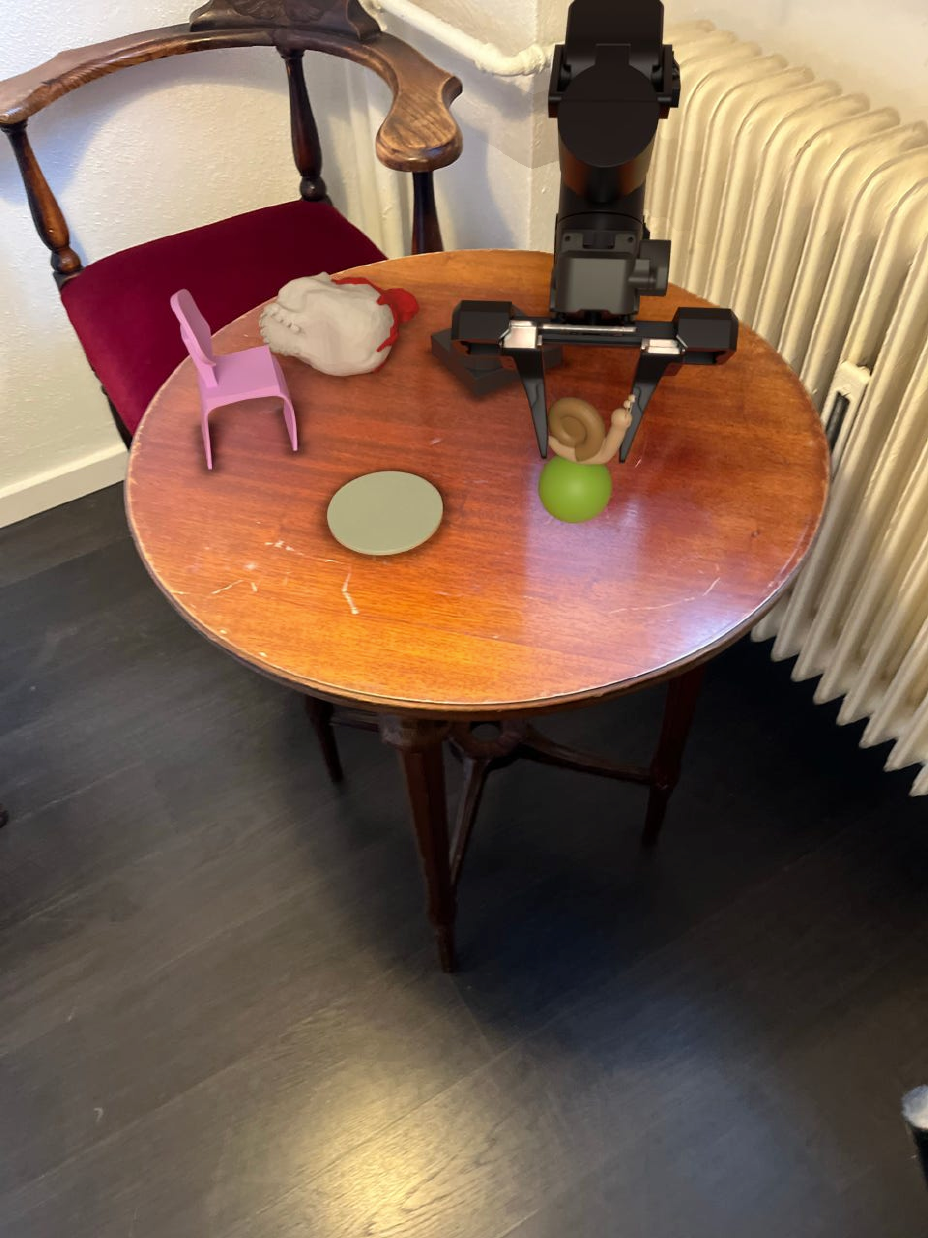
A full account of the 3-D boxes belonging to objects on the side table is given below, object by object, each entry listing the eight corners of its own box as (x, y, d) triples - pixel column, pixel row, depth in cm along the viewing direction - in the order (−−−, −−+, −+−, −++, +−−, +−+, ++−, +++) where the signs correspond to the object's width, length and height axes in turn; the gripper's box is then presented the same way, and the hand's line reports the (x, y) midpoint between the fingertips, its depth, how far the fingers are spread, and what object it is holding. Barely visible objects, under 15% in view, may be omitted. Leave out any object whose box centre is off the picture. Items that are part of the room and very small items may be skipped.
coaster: (408, 460, 81) (408, 456, 81) (464, 525, 76) (464, 521, 75) (309, 502, 78) (308, 497, 78) (359, 572, 73) (358, 568, 72)
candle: (260, 366, 91) (373, 321, 98) (330, 412, 85) (443, 361, 93) (249, 280, 84) (370, 239, 92) (323, 324, 79) (445, 276, 87)
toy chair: (304, 456, 82) (270, 309, 71) (209, 477, 81) (158, 331, 69) (290, 403, 87) (256, 259, 76) (200, 422, 86) (152, 278, 75)
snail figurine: (600, 553, 65) (615, 422, 56) (524, 522, 68) (526, 392, 58) (632, 508, 68) (652, 376, 59) (558, 479, 70) (565, 349, 61)
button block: (513, 322, 95) (513, 287, 92) (561, 363, 90) (563, 328, 87) (429, 354, 92) (426, 319, 89) (474, 398, 87) (473, 363, 84)
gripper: (446, 179, 53) (431, 444, 55) (767, 184, 51) (741, 460, 53) (467, 238, 64) (455, 457, 66) (733, 244, 62) (712, 471, 64)
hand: (582, 461), depth 62 cm, fingers closed on snail figurine, 5 cm apart
